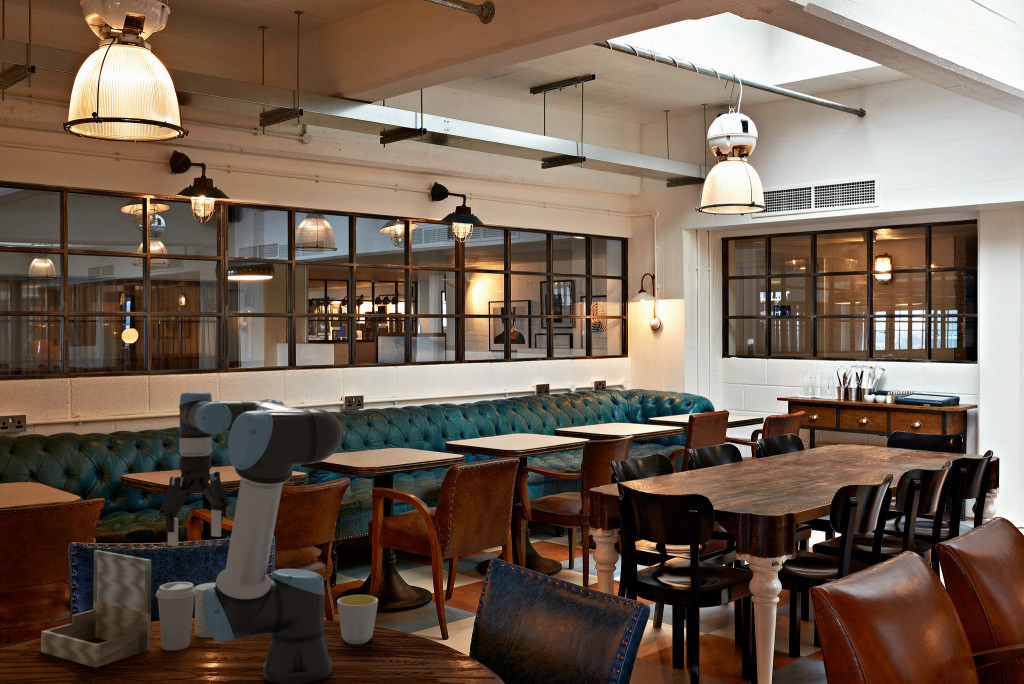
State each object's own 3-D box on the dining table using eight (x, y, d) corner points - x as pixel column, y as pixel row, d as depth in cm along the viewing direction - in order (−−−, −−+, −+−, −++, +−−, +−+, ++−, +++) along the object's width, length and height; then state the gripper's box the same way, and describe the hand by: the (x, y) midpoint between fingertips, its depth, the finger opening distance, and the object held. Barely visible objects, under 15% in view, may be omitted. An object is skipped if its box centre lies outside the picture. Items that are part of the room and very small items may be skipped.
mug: (373, 647, 230) (374, 605, 230) (332, 647, 230) (333, 604, 230) (383, 631, 243) (383, 591, 243) (344, 630, 244) (344, 590, 244)
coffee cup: (177, 638, 236) (178, 579, 237) (204, 644, 232) (205, 584, 232) (146, 648, 228) (147, 587, 228) (173, 654, 223) (174, 592, 224)
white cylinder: (188, 635, 239) (188, 588, 239) (207, 626, 246) (207, 581, 247) (215, 638, 236) (215, 591, 236) (233, 629, 244) (234, 583, 244)
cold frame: (154, 648, 228) (155, 558, 228) (95, 667, 214) (96, 572, 214) (101, 634, 239) (101, 549, 239) (41, 652, 225) (42, 561, 225)
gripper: (222, 449, 242) (222, 531, 242) (143, 458, 220) (142, 548, 220) (243, 450, 239) (243, 533, 238) (165, 459, 217) (164, 551, 216)
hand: (195, 540), depth 229 cm, fingers open, 13 cm apart
